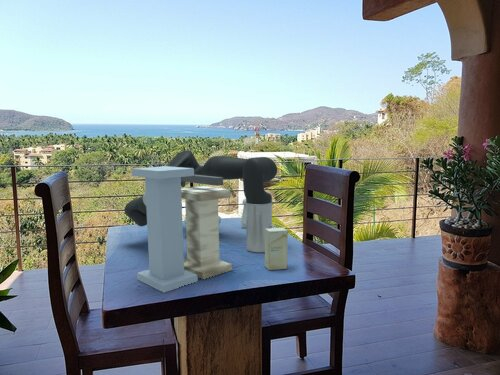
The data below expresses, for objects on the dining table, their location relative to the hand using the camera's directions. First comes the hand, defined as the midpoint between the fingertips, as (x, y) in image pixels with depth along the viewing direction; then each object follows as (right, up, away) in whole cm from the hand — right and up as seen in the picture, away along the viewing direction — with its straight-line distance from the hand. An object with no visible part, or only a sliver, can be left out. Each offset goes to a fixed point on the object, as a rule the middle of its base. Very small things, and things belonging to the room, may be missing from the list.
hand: (180, 172), depth 123 cm
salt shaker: (+21, -23, +52) cm, 61 cm away
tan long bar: (+5, -3, -4) cm, 7 cm away
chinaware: (+3, -25, +36) cm, 44 cm away
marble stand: (+8, -30, -4) cm, 31 cm away
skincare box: (+30, -30, -3) cm, 42 cm away
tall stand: (-2, -31, -13) cm, 34 cm away
